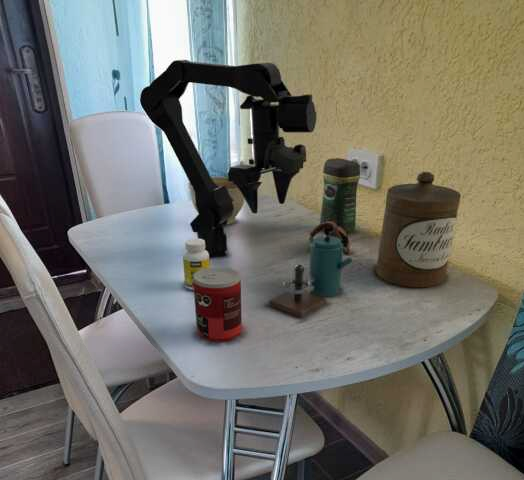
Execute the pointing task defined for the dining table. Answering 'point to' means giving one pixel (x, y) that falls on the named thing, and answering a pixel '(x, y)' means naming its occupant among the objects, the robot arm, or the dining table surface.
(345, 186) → the coffee jar
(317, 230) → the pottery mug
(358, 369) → the dining table surface
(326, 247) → the kettle
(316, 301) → the wooden peg stand
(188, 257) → the supplement bottle
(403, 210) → the wooden container
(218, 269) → the canned food
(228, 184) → the planter bowl
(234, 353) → the dining table surface
